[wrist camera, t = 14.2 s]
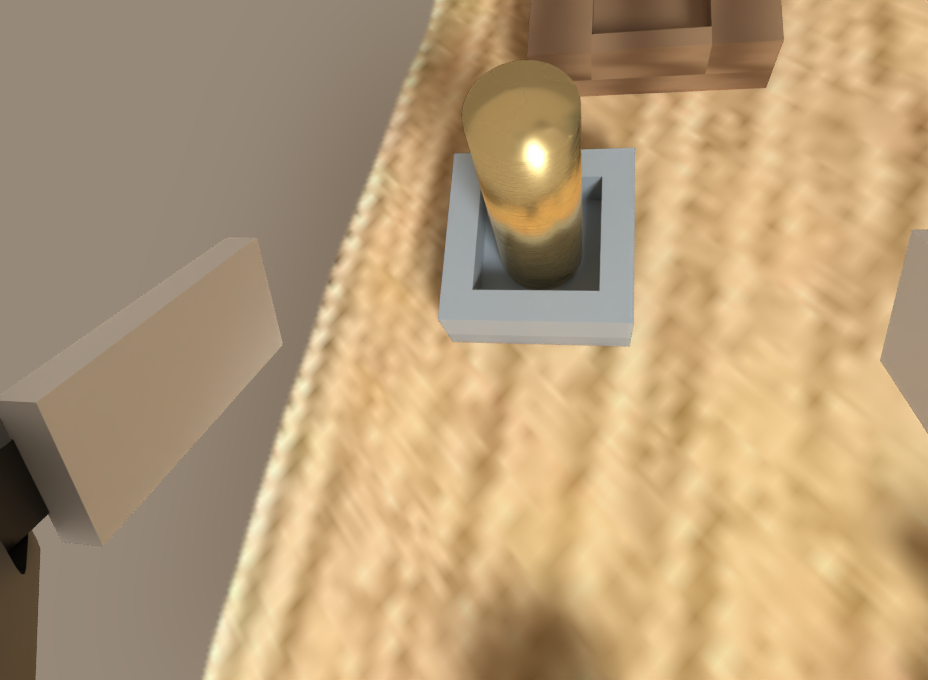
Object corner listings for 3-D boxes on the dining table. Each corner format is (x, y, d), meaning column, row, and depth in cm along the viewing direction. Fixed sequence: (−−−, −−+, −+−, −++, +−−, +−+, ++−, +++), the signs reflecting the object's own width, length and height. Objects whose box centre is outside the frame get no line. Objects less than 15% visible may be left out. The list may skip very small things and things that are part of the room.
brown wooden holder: (759, -32, 43) (775, -88, 39) (766, 87, 40) (783, 39, 36) (539, -14, 46) (534, -65, 42) (532, 98, 43) (526, 55, 39)
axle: (563, 203, 39) (552, 42, 27) (596, 270, 37) (600, 131, 25) (489, 234, 39) (445, 88, 27) (519, 302, 37) (486, 180, 25)
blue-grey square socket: (631, 185, 40) (635, 147, 36) (629, 346, 37) (633, 323, 33) (466, 189, 42) (454, 153, 38) (453, 341, 39) (437, 319, 35)
